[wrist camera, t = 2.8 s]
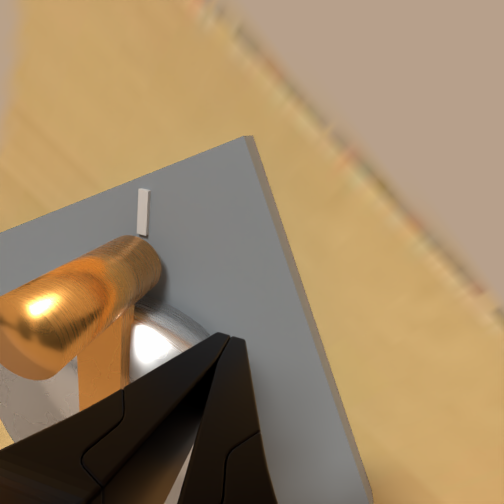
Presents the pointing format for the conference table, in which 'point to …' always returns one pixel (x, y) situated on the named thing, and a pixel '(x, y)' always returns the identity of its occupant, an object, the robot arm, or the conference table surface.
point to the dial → (86, 337)
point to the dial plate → (222, 299)
